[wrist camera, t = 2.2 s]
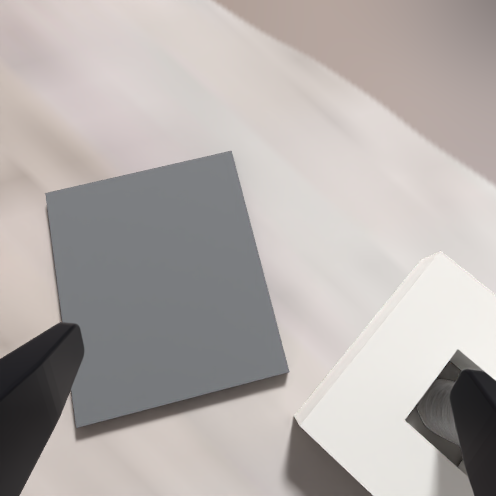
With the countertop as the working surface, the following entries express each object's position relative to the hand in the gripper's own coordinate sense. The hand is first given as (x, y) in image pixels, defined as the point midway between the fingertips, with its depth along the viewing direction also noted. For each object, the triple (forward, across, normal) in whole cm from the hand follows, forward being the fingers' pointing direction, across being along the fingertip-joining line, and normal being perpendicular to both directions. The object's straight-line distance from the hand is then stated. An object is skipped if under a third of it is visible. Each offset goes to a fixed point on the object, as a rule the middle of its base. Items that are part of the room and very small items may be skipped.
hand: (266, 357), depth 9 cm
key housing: (+8, -11, +11) cm, 17 cm away
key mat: (+12, +6, +7) cm, 15 cm away
